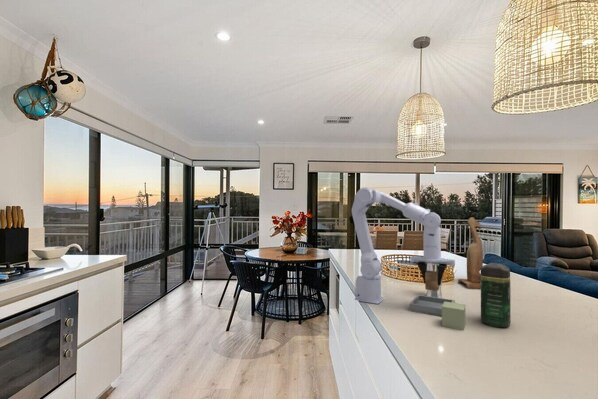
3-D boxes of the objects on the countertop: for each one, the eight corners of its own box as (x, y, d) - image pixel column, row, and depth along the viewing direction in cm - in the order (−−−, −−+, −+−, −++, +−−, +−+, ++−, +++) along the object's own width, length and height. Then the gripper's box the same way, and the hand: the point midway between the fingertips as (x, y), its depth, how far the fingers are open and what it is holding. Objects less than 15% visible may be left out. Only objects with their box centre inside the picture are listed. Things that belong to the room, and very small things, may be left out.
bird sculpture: (494, 290, 134) (495, 218, 135) (467, 289, 135) (468, 217, 135) (481, 284, 145) (481, 217, 146) (455, 283, 146) (457, 216, 147)
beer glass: (445, 299, 119) (445, 261, 119) (426, 298, 121) (426, 261, 121) (441, 294, 126) (440, 258, 126) (423, 293, 127) (423, 258, 128)
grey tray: (409, 310, 107) (409, 303, 107) (417, 301, 118) (417, 294, 118) (450, 318, 100) (450, 310, 100) (454, 307, 111) (454, 300, 111)
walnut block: (425, 289, 108) (425, 272, 108) (427, 286, 111) (427, 270, 111) (437, 291, 106) (437, 273, 106) (439, 288, 109) (439, 271, 109)
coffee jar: (509, 330, 90) (508, 267, 90) (478, 324, 95) (477, 264, 95) (512, 321, 97) (511, 263, 98) (483, 315, 102) (483, 260, 103)
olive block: (442, 326, 93) (441, 306, 94) (444, 319, 98) (444, 301, 99) (464, 330, 90) (463, 310, 90) (465, 323, 95) (465, 304, 95)
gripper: (408, 245, 110) (408, 283, 109) (453, 248, 102) (453, 289, 102) (412, 243, 116) (413, 279, 115) (455, 246, 108) (455, 284, 107)
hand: (432, 283), depth 109 cm, fingers closed on walnut block, 4 cm apart
